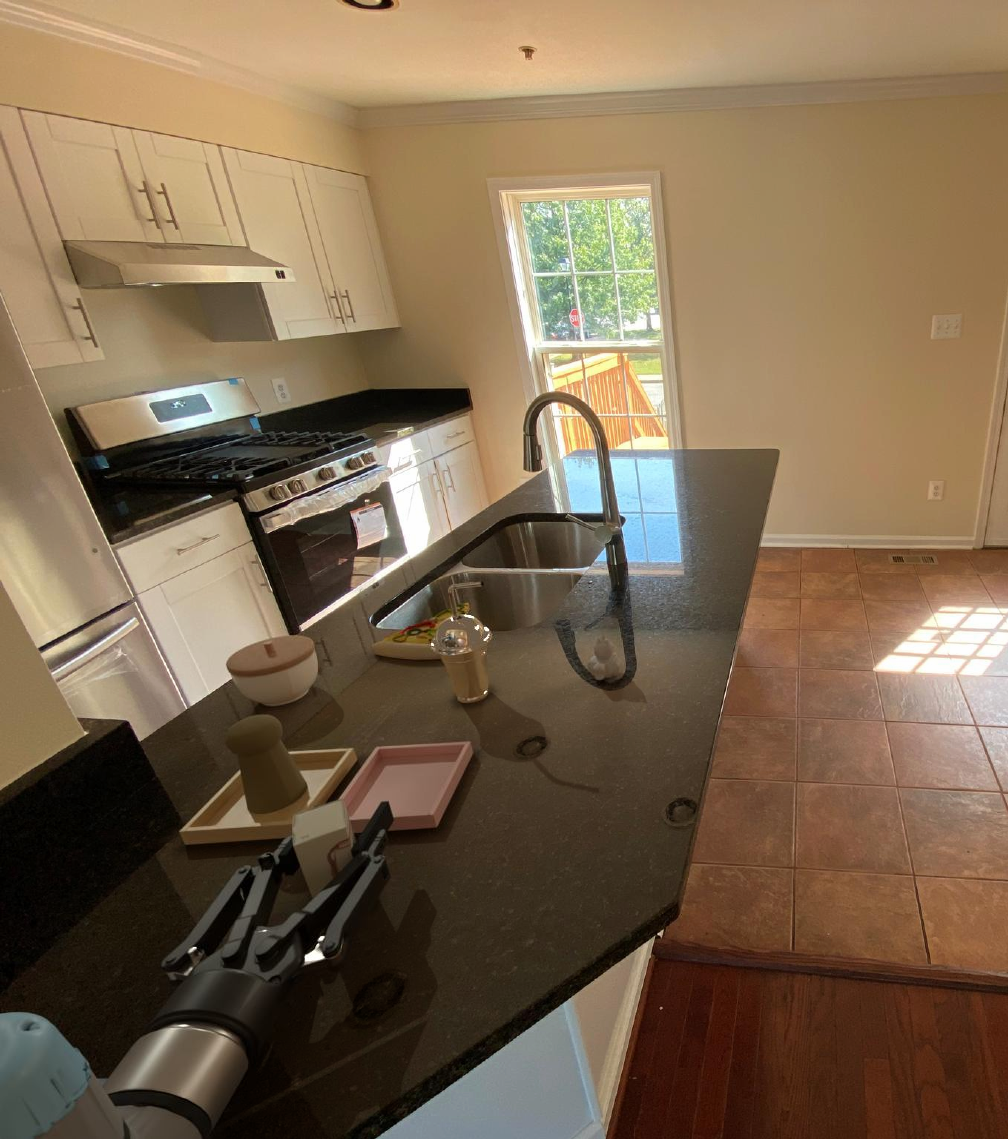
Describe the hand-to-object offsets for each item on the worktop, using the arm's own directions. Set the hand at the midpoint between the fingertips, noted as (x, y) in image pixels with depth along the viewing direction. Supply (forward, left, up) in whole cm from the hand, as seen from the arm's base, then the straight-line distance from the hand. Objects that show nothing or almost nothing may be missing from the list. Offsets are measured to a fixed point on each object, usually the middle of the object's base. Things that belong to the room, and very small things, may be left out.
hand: (355, 813), depth 66 cm
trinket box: (-43, -7, -6) cm, 44 cm away
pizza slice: (-51, +17, -6) cm, 54 cm away
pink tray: (-9, +5, -6) cm, 12 cm away
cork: (-16, -8, -6) cm, 19 cm away
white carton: (+4, -3, -6) cm, 8 cm away
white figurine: (-19, +36, -6) cm, 41 cm away
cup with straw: (-26, +17, -6) cm, 31 cm away
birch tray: (-16, -8, -6) cm, 19 cm away
